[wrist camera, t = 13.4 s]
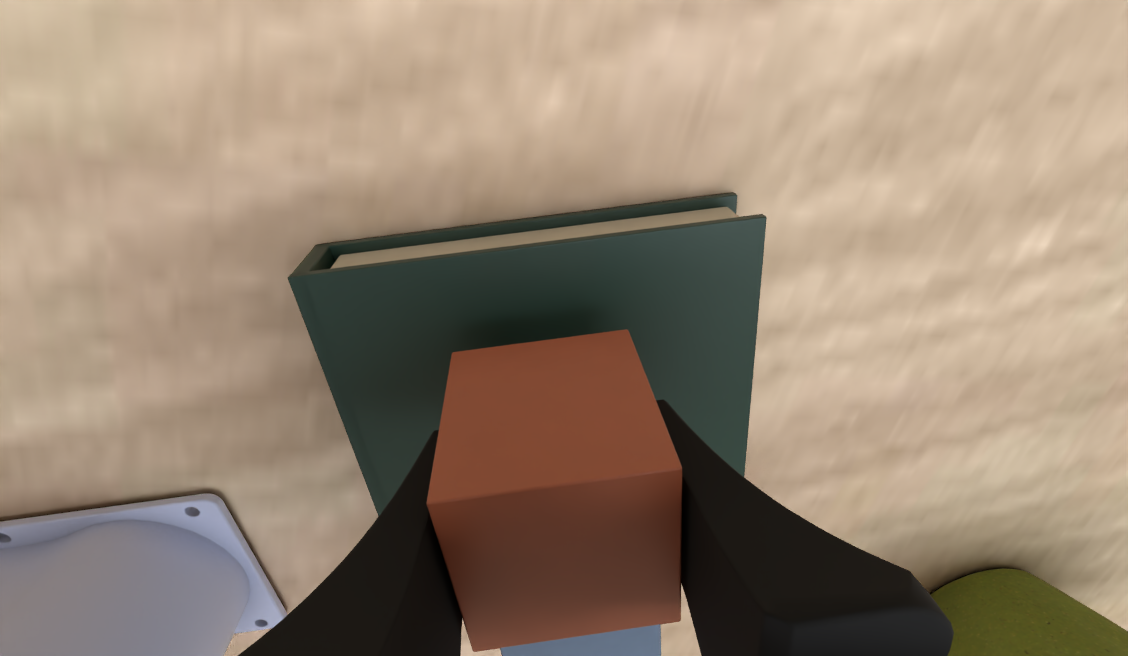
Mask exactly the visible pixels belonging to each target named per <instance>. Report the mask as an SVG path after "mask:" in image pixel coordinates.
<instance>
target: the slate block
mask: <svg viewBox="0 0 1128 656" xmlns="http://www.w3.org/2000/svg"><path fill="white" fill-rule="evenodd" d="M500 650H501V654H502V656H661V627H660V624H659V625H653V626H646V627H639V628H632V629H626V630H619V631H612V632H605V633H599V634H592V635H585V636H578V637H572V638H565V639H558V640H551V641H544V642H538V643H531V644H524V645H517V646H511V647H504V648H500Z"/></svg>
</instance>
